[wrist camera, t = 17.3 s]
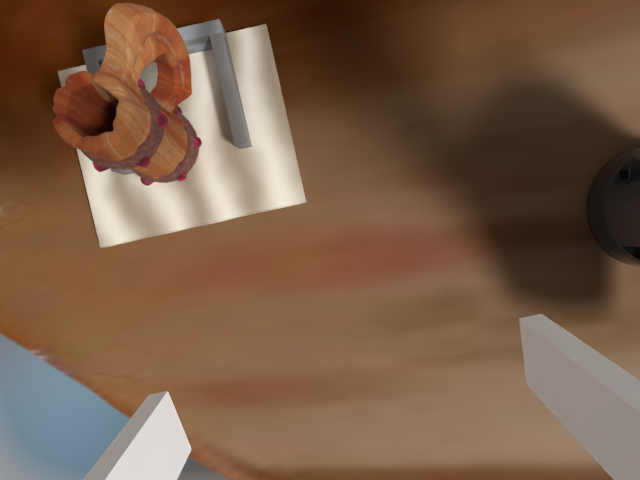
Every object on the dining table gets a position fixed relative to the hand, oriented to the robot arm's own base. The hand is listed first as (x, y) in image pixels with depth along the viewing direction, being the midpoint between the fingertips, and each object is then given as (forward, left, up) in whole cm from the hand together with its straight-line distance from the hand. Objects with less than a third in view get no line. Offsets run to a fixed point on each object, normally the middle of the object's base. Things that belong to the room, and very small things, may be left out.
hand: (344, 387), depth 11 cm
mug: (+13, -21, -27) cm, 37 cm away
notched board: (+13, -21, -28) cm, 38 cm away
